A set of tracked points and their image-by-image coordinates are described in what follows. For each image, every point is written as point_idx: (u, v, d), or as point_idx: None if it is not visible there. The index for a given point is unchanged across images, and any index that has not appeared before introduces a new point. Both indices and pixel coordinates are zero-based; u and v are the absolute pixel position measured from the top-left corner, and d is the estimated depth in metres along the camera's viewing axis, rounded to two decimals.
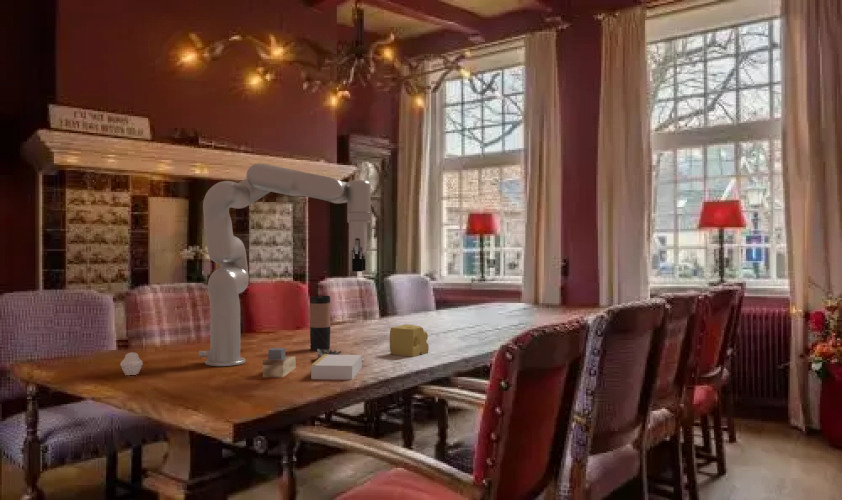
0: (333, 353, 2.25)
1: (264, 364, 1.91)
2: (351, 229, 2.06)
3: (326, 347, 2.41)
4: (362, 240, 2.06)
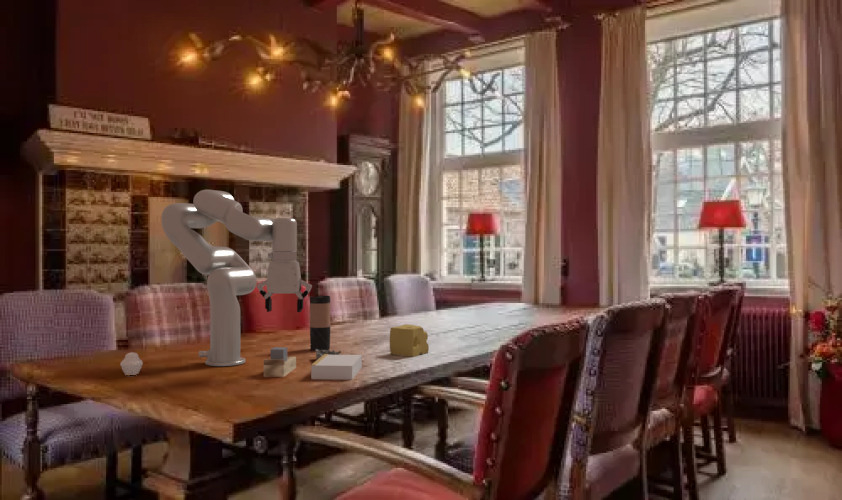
0: (331, 353, 2.24)
1: (265, 364, 1.91)
2: (297, 269, 2.01)
3: (326, 347, 2.41)
4: None
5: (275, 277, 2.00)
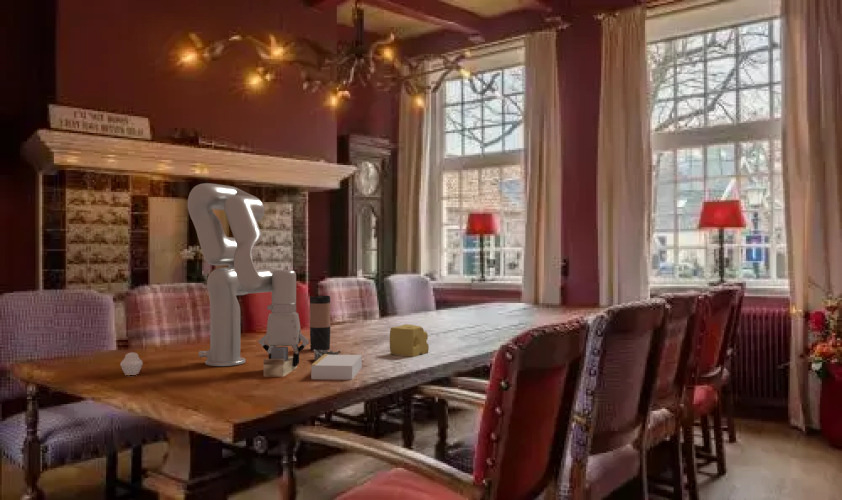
0: (329, 353, 2.24)
1: (265, 364, 1.92)
2: (296, 321, 2.01)
3: (326, 347, 2.41)
4: (300, 331, 2.04)
5: (274, 330, 2.00)
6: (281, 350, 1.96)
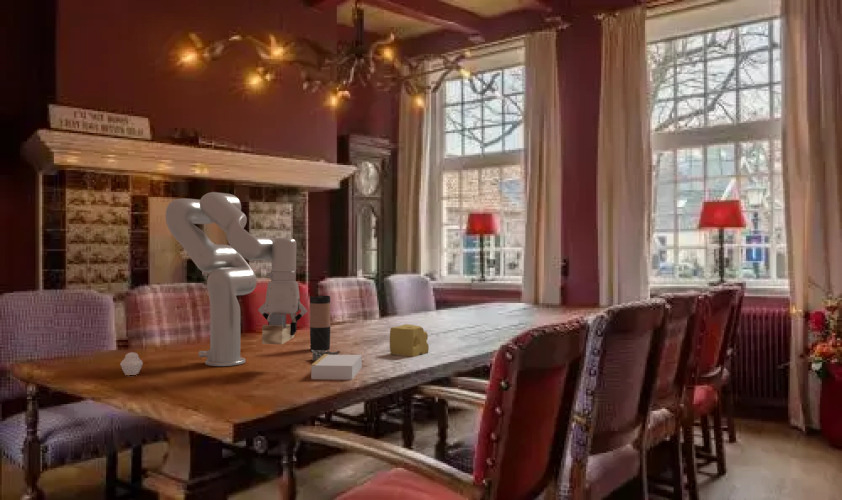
0: (326, 353, 2.24)
1: (264, 329, 1.92)
2: (296, 290, 2.01)
3: (326, 347, 2.41)
4: (299, 300, 2.04)
5: (274, 297, 2.00)
6: (279, 317, 1.97)
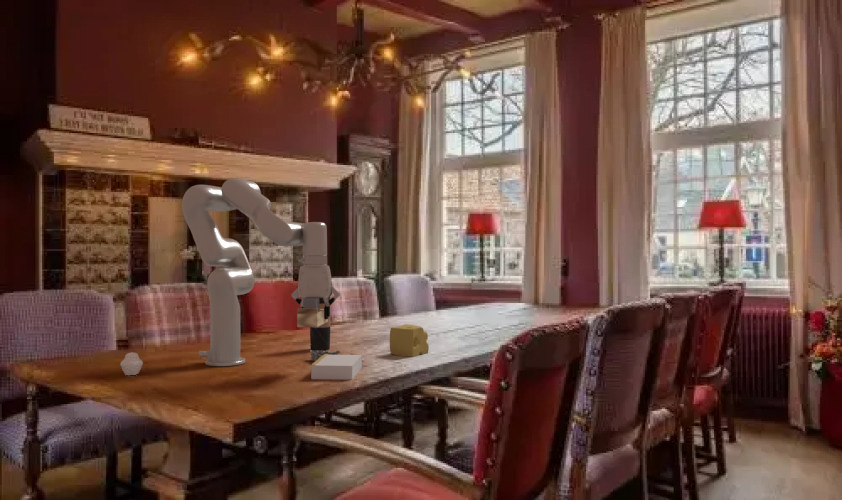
0: None
1: (298, 313, 1.91)
2: (328, 273, 2.00)
3: (326, 347, 2.41)
4: (331, 284, 2.04)
5: (306, 282, 2.00)
6: (313, 300, 1.96)
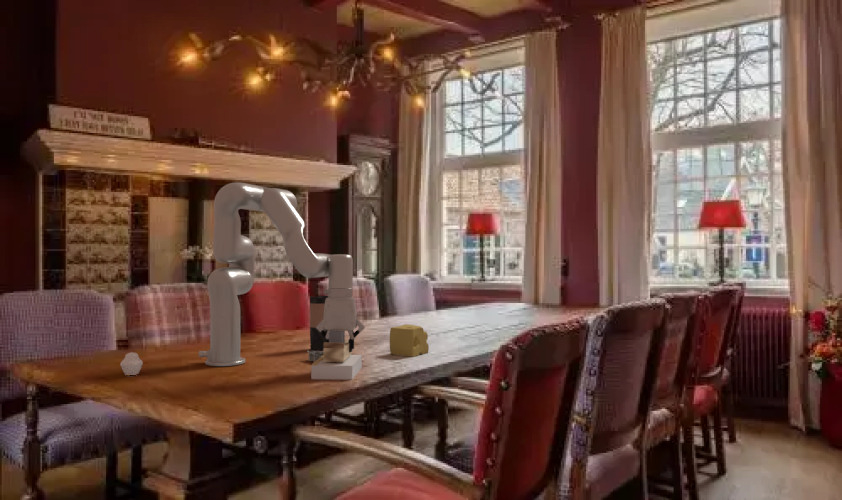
0: None
1: (325, 347, 1.91)
2: (354, 306, 2.00)
3: None
4: (356, 316, 2.03)
5: (332, 314, 1.99)
6: (339, 334, 1.95)
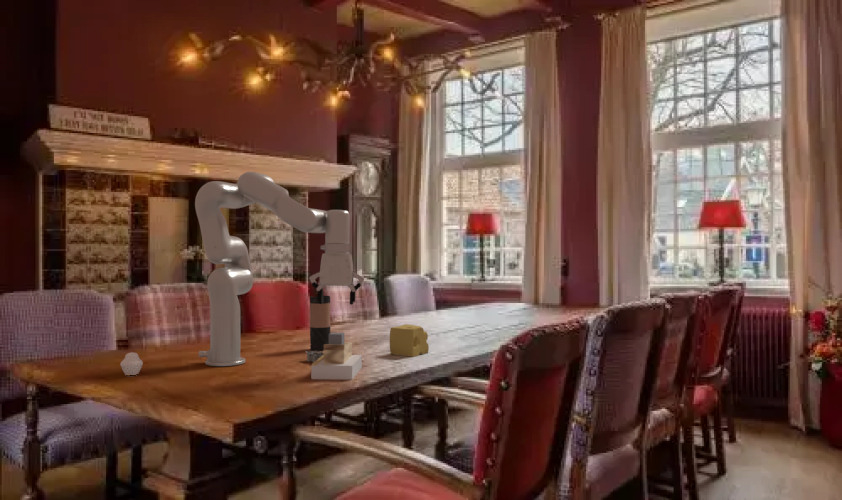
0: None
1: (325, 349, 1.91)
2: (350, 261, 2.00)
3: None
4: None
5: (328, 269, 2.00)
6: (339, 336, 1.96)
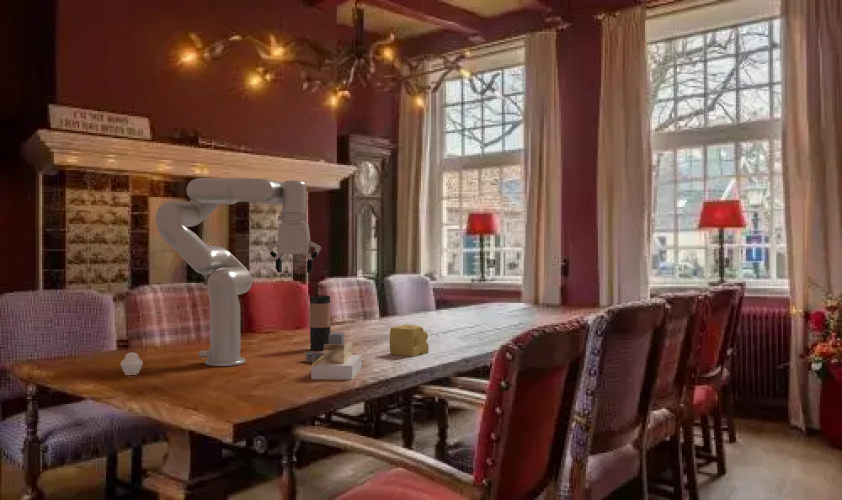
0: None
1: (325, 349, 1.91)
2: (307, 230, 2.06)
3: None
4: None
5: (285, 238, 2.05)
6: (339, 336, 1.96)
